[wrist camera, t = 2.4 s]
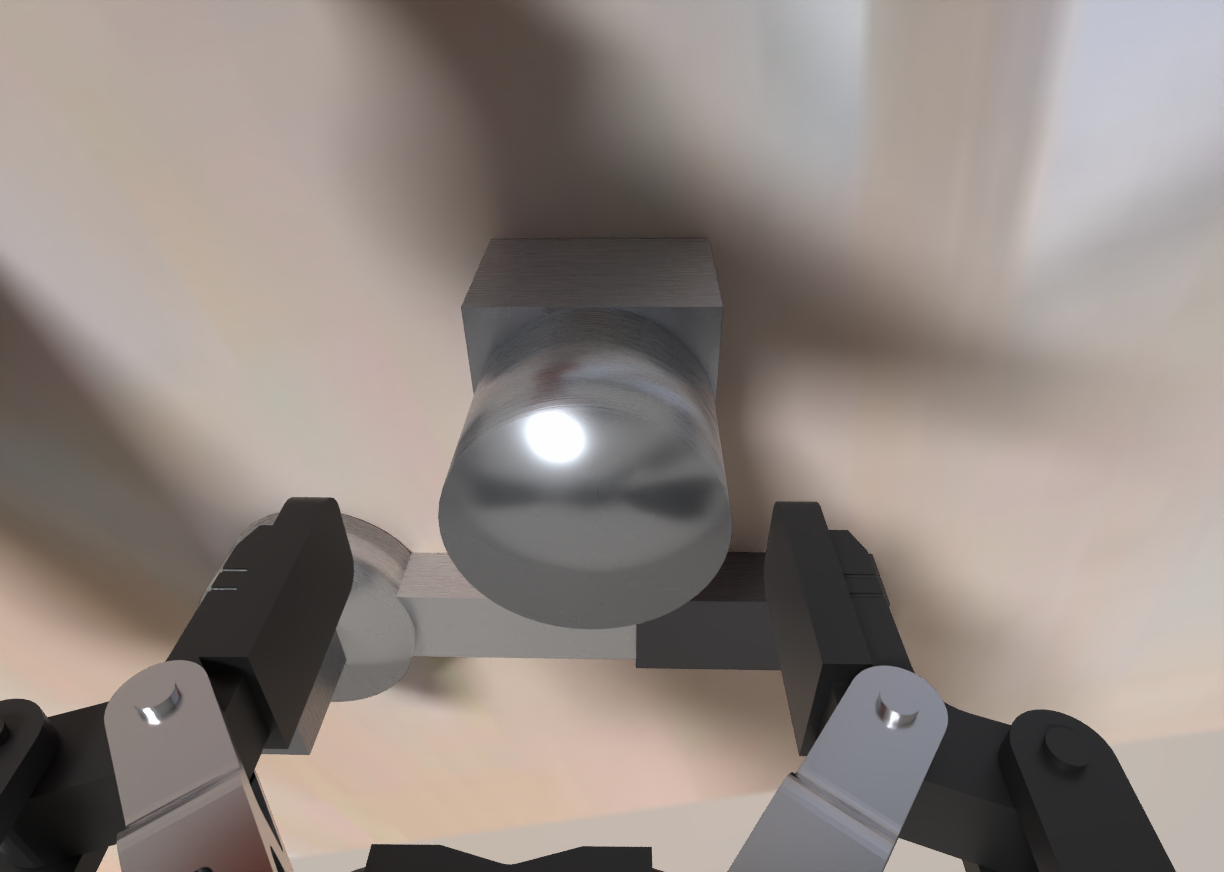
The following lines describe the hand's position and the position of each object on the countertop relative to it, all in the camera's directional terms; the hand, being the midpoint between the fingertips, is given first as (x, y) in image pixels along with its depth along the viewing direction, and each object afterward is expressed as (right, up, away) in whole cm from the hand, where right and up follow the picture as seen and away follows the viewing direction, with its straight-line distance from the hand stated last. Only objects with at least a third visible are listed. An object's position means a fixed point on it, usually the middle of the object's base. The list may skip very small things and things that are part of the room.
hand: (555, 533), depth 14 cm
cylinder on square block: (+1, +5, +7) cm, 8 cm away
